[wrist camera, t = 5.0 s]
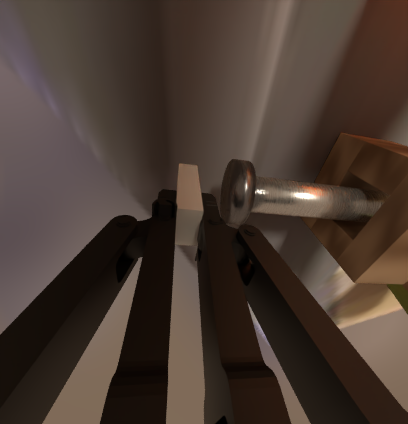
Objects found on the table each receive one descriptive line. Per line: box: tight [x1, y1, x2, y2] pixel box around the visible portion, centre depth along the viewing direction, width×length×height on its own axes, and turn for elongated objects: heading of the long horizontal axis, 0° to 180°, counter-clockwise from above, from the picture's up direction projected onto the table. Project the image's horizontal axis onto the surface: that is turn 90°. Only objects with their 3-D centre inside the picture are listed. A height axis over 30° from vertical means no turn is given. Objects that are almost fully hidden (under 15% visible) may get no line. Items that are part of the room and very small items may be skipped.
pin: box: [220, 159, 390, 225], centre depth 17 cm, size 5×17×5 cm, turn 81°
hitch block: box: [301, 133, 408, 291], centre depth 18 cm, size 10×7×12 cm, turn 171°
